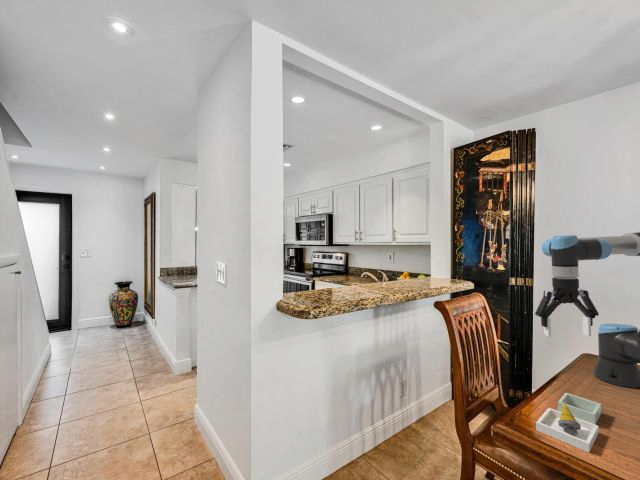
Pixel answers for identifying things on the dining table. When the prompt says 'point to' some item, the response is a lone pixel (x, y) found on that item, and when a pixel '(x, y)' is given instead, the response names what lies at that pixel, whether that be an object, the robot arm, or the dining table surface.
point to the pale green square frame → (581, 403)
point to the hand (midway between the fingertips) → (567, 335)
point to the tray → (552, 428)
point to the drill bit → (568, 421)
